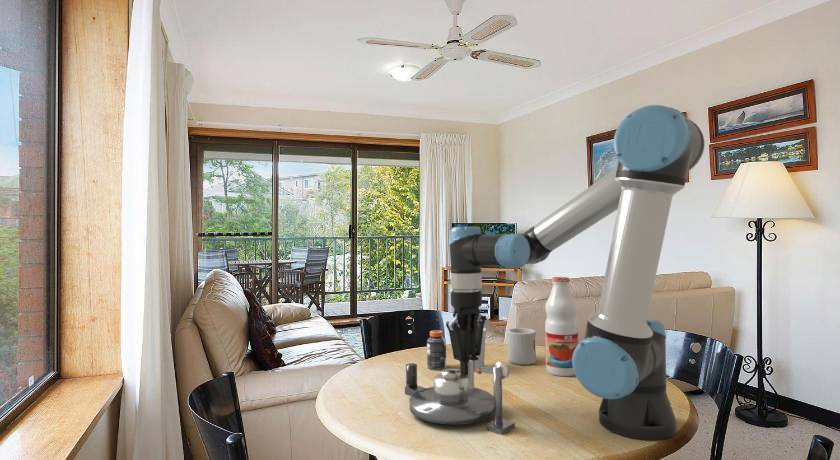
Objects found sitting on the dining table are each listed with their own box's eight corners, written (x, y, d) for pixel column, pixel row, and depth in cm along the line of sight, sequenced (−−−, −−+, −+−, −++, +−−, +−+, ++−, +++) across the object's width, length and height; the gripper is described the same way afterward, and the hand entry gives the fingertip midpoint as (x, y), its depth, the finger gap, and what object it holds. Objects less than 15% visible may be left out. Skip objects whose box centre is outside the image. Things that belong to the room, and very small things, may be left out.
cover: (475, 399, 110) (475, 370, 110) (452, 408, 105) (452, 378, 105) (450, 391, 116) (449, 364, 116) (427, 399, 110) (426, 371, 110)
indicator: (514, 427, 101) (513, 363, 101) (501, 434, 98) (500, 368, 98) (485, 417, 107) (484, 356, 107) (471, 424, 103) (470, 361, 103)
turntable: (512, 405, 110) (512, 374, 110) (457, 432, 96) (457, 396, 96) (434, 382, 128) (434, 356, 128) (378, 402, 114) (377, 372, 114)
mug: (539, 365, 147) (539, 333, 147) (510, 366, 147) (509, 333, 147) (530, 355, 159) (530, 325, 159) (503, 355, 159) (503, 325, 159)
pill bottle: (449, 366, 147) (449, 330, 147) (440, 371, 142) (439, 333, 142) (433, 363, 150) (432, 328, 150) (423, 368, 145) (423, 331, 145)
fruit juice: (572, 367, 144) (570, 275, 144) (583, 376, 135) (582, 278, 135) (541, 368, 144) (540, 276, 144) (551, 377, 135) (549, 279, 135)
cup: (486, 372, 140) (485, 332, 140) (459, 371, 142) (458, 331, 142) (487, 365, 148) (487, 326, 148) (462, 364, 150) (461, 326, 150)
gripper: (470, 286, 122) (472, 377, 122) (436, 291, 112) (438, 390, 112) (494, 288, 116) (496, 384, 116) (461, 294, 107) (462, 398, 107)
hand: (467, 387), depth 114 cm, fingers closed
